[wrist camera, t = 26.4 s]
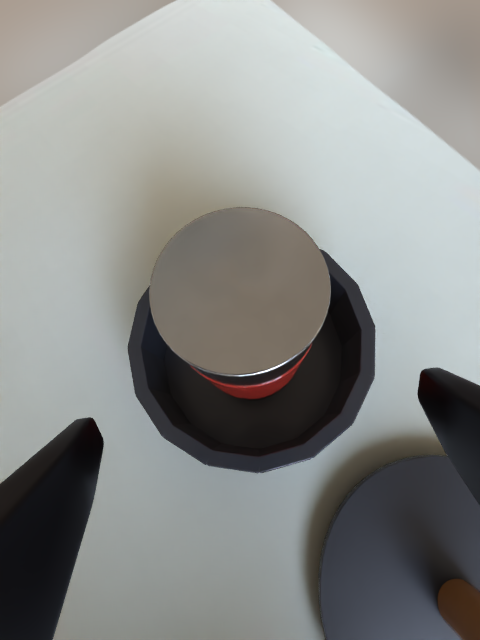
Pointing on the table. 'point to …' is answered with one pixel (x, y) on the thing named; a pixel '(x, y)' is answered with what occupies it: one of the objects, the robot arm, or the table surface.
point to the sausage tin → (241, 299)
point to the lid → (403, 557)
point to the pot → (268, 414)
